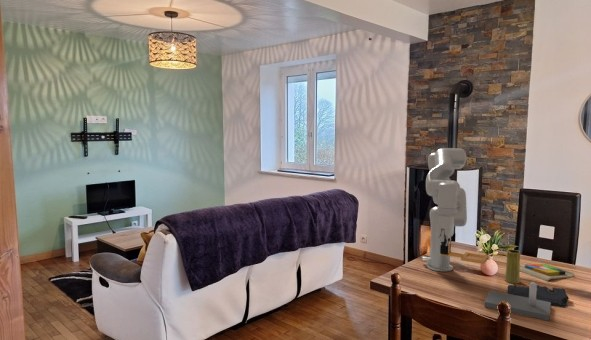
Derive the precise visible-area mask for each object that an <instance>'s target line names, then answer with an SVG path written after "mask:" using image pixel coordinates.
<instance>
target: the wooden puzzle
mask: <svg viewBox="0 0 591 340" xmlns="http://www.w3.org/2000/svg"><path fill="white" fill-rule="evenodd" d="M520 272H521V273H523V274H526V275H529V276H530V277H534V278H537V279H539V280H542V281H545V282H549V281H550V280H559V279H567V278H568V279H569V278H573V277H574V276H575V273H574V272H572V271H569V270H566V269H563V268H560V267H557V266H554V265H550V264H547V263H544V262H542V263H536V264H530V263H529V264H525V265H520Z"/></svg>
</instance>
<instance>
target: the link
mask: <svg viewBox="0 0 591 340" xmlns="http://www.w3.org/2000/svg"><path fill="white" fill-rule="evenodd" d="M445 241H446V240H445ZM450 244H451V243H450V241H449V240H448V255H449V256H450V257H456V258H460V261H464V262H469V263H474V264H481V265H485V264H486V262H487V261H488V260H489V255H486V254H478V253H473V252H467V251H466V252H465V253H457V252H450ZM441 255H444V254H441ZM448 255H445V256H448ZM478 258H479V259H478Z"/></svg>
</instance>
